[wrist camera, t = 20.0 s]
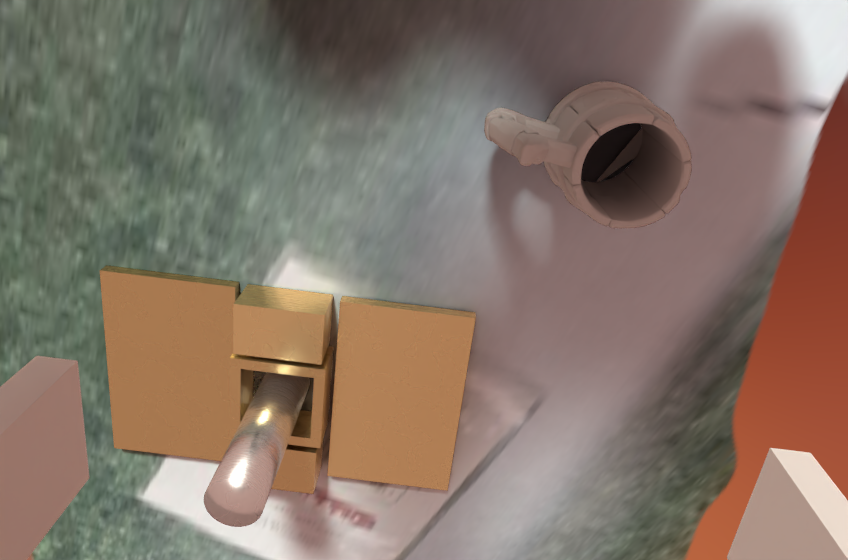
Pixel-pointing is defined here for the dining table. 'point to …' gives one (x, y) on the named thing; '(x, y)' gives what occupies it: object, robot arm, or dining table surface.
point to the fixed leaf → (195, 373)
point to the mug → (574, 136)
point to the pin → (256, 451)
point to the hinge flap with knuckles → (372, 376)
